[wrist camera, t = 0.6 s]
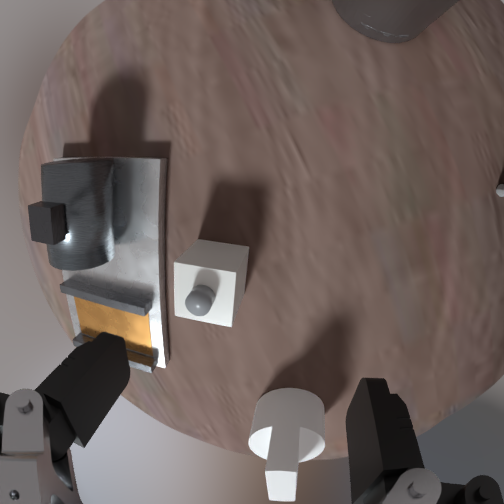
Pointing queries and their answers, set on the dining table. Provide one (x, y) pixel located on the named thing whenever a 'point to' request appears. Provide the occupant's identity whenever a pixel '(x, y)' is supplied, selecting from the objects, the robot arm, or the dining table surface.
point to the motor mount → (109, 248)
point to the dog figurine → (500, 190)
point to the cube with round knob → (210, 281)
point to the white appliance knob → (287, 436)
